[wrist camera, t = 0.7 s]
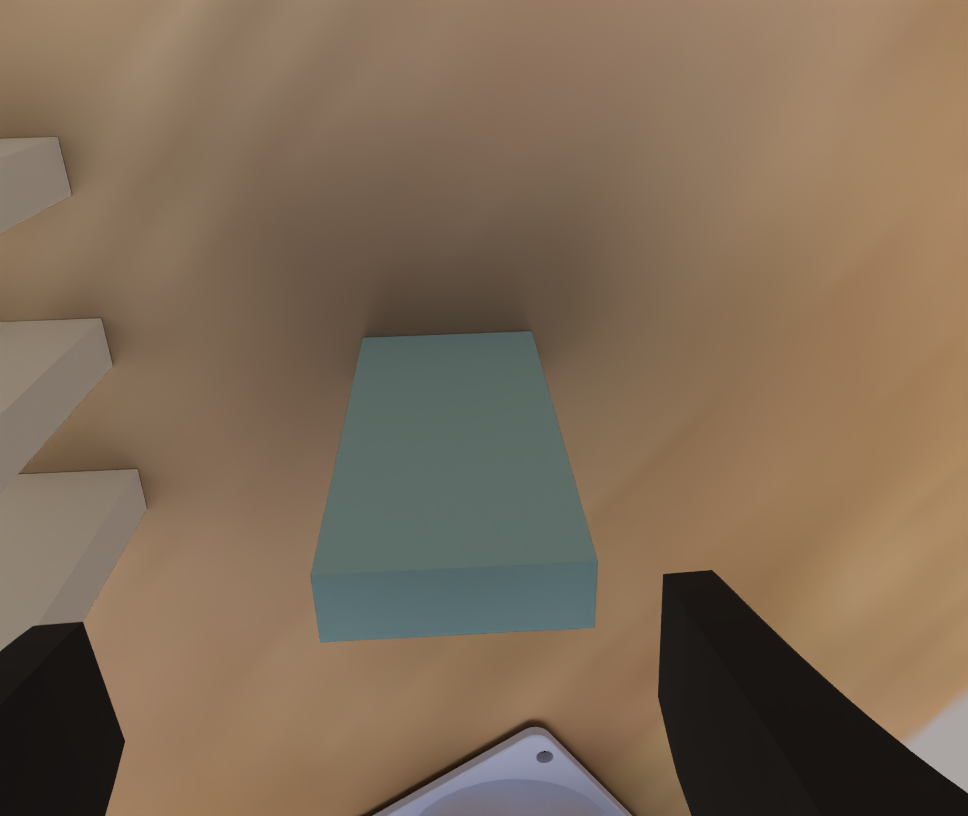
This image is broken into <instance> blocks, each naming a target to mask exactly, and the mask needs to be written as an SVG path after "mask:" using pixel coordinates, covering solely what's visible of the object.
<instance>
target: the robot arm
mask: <svg viewBox="0 0 968 816" xmlns="http://www.w3.org/2000/svg"><path fill="white" fill-rule="evenodd" d="M658 698H659V703H660V707H661V711H662V715H663V720H664V724H665V728H666V732H667V737H668V741H669V745H670V749H671V753H672V757H673V761H674V765H675V769H676V773H677V776H678V779H679V782H680V784H681V787H682V790H683V793H684V796H685V799H686V801H687V804H688V807H689V810H690V812H691V815H692V816H968V793H967V792H965V791H964V790H963V789H961V788H960V787H958V786H957V785H956V784H954V783H953V782H951V781H950V780H949V779H947V778H946V777H944V776H943V775H942V774H940V773H939V772H938V771H936V770H935V769H934V768H932V767H931V766H929V765H928V764H927V763H926V762H924V761H923V760H922V759H921V758H919V757H918V756H917V755H915V754H914V753H913V752H911V751H910V750H909V749H908V748H907V747H905V746H904V745H903V744H902V743H900V742H899V741H898V740H897V739H895V738H894V737H893V736H892V735H891V734H889V733H888V732H887V731H886V730H884V729H883V728H882V727H881V726H880V725H878V724H877V723H876V722H875V721H873V720H872V719H871V718H870V717H869V716H868V715H866V714H865V713H864V712H863V711H862V710H861V709H859V708H858V707H857V706H856V705H855V704H854V703H852V702H851V701H850V700H849V699H848V698H847V697H845V696H844V695H843V694H842V693H841V692H840V691H839V690H838V689H837V688H835V687H834V686H833V685H832V684H831V683H830V682H829V681H828V680H827V679H825V678H824V677H823V676H822V675H821V674H820V673H819V672H818V671H817V670H815V669H814V668H813V667H812V666H811V665H810V664H809V663H808V662H807V661H805V660H804V659H803V658H802V657H801V656H800V655H799V654H798V653H797V652H796V651H795V650H794V649H793V648H792V647H791V646H789V645H788V644H787V643H786V642H785V641H784V640H783V639H782V638H781V637H780V636H779V635H778V634H777V633H776V632H775V631H774V630H773V629H772V628H771V627H770V626H769V625H768V624H767V623H766V622H765V621H764V620H762V619H761V618H760V617H759V616H758V615H757V614H756V613H755V612H754V611H753V610H752V609H751V608H750V607H749V606H748V605H747V604H746V603H745V602H744V601H743V600H742V599H741V598H740V597H739V596H738V595H737V594H736V593H735V592H734V591H733V590H732V589H731V588H730V587H729V586H728V585H727V584H726V583H725V582H724V581H723V580H722V579H721V578H720V577H719V576H718V575H717V574H716V573H714V572H713V571H712V570H708V571H696V572H684V573H671V574H663V591H662V615H661V639H660V662H659V686H658ZM124 743H125V740H124V737H123V734H122V732H121V729H120V726H119V723H118V720H117V717H116V715H115V712H114V709H113V706H112V703H111V700H110V698H109V695H108V692H107V689H106V686H105V683H104V681H103V678H102V675H101V672H100V669H99V666H98V664H97V661H96V658H95V655H94V652H93V649H92V647H91V644H90V641H89V638H88V635H87V632H86V630H85V627H84V624H83V622H72V623H60V624H47V625H35V626H32V627H31V628H29V629H28V630H27V631H25V632H24V633H23V634H21V635H20V636H19V637H17V638H16V639H15V640H13V641H12V642H11V643H10V644H8V645H7V646H6V647H5V648H3V649H2V650H1V651H0V816H105V814H106V810H107V807H108V804H109V800H110V797H111V793H112V790H113V786H114V782H115V779H116V775H117V771H118V767H119V763H120V759H121V755H122V751H123V747H124ZM542 751H548V752H544V753H541V752H542ZM373 816H632V815H631V814H630V813H629V812H628V811H627V810H626V809H625V808H624V807H623V806H622V805H621V804H620V803H619V802H618V801H617V800H616V799H615V798H614V797H613V796H612V795H611V794H610V793H609V792H608V791H607V790H606V789H605V788H604V787H603V786H602V785H601V784H600V783H599V782H598V781H597V780H596V779H595V778H594V777H593V776H592V775H591V774H590V773H589V772H588V771H587V770H586V769H585V768H584V767H583V766H582V765H581V764H580V763H579V762H578V761H577V760H576V759H575V758H574V757H573V756H572V755H571V754H570V753H569V752H568V751H567V750H566V749H565V748H564V747H563V746H562V745H561V744H560V743H559V742H558V741H557V740H556V739H555V738H554V737H553V736H552V735H551V734H550V733H549V732H548V731H547V730H545V729H543V728H540V727H530V728H527V729H525V730H523V731H521V732H520V733H518V734H516V735H514V736H513V737H511V738H509V739H507V740H506V741H504V742H502V743H500V744H498V745H497V746H495V747H493V748H491V749H490V750H488V751H486V752H484V753H482V754H481V755H479V756H477V757H475V758H474V759H472V760H470V761H468V762H467V763H465V764H463V765H461V766H459V767H458V768H456V769H454V770H452V771H451V772H449V773H447V774H445V775H444V776H442V777H440V778H438V779H436V780H435V781H433V782H431V783H429V784H428V785H426V786H424V787H422V788H421V789H419V790H417V791H415V792H413V793H412V794H410V795H408V796H406V797H405V798H403V799H401V800H399V801H398V802H396V803H394V804H392V805H390V806H389V807H387V808H385V809H383V810H382V811H380V812H378V813H376V814H375V815H373Z"/></svg>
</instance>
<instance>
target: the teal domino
mask: <svg viewBox="0 0 968 816" xmlns="http://www.w3.org/2000/svg"><path fill="white" fill-rule="evenodd" d="M597 566H598V560H597V557H596V553H595V550H594V546H593V543H592V539H591V536H590V532H589V529H588V525H587V522H586V518H585V515H584V511H583V508H582V504H581V501H580V498H579V494H578V491H577V487H576V484H575V480H574V477H573V473H572V470H571V466H570V463H569V459H568V456H567V452H566V449H565V445H564V442H563V438H562V435H561V431H560V428H559V424H558V421H557V417H556V414H555V410H554V407H553V403H552V400H551V396H550V393H549V389H548V386H547V382H546V379H545V375H544V372H543V368H542V365H541V361H540V358H539V355H538V351H537V348H536V344H535V341H534V337H533V334H532V331H520V332H494V333H469V334H443V335H418V336H392V337H367V338H363V339H362V343H361V348H360V352H359V357H358V361H357V366H356V371H355V375H354V380H353V384H352V389H351V393H350V398H349V403H348V407H347V412H346V416H345V421H344V425H343V430H342V434H341V439H340V444H339V448H338V453H337V457H336V462H335V466H334V471H333V475H332V480H331V485H330V489H329V494H328V498H327V503H326V507H325V512H324V516H323V521H322V526H321V530H320V535H319V539H318V544H317V548H316V553H315V557H314V562H313V567H312V571H311V582H312V589H313V596H314V603H315V610H316V617H317V624H318V631H319V638H320V642H333V641H352V640H371V639H390V638H409V637H428V636H447V635H466V634H485V633H504V632H524V631H543V630H562V629H581V628H595V608H596V587H597Z"/></svg>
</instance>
